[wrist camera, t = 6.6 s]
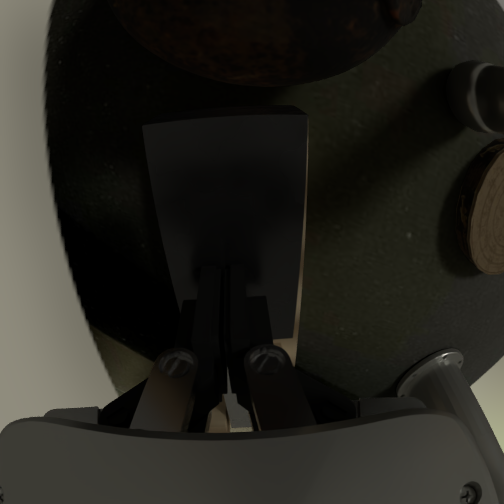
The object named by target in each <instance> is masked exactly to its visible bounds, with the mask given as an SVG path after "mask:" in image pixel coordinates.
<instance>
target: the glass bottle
mask: <svg viewBox="0 0 504 504" xmlns="http://www.w3.org/2000/svg"><path fill="white" fill-rule="evenodd" d="M107 1H108V3H109V5H110V8H111V10H112V11H113V13H114V14H115V16H116V18H117V19H118V21H119V23H120V24H121V25H122V26H123V28H124V29H125V30H126V31H127V32H128V33H129V34H130V36H132V37H133V38H134V39H135V40H136V41H137V42H138V43H139V44H141V45H142V46H143V47H145V48H146V49H147V50H149V51H150V52H152V53H153V54H155V55H156V56H158V57H159V58H161V59H163V60H165V61H166V62H168V63H170V64H172V65H174V66H176V67H178V68H181V69H183V70H186V71H188V72H190V73H193V74H196V75H199V76H202V77H205V78H209V79H213V80H216V81H221V82H225V83H230V84H238V85H245V86H260V87H276V86H290V85H298V84H304V83H310V82H313V81H319V80H322V79H326V78H329V77H332V76H335V75H338V74H341V73H343V72H345V71H347V70H349V69H351V68H353V67H356V66H357V65H359V64H361V63H362V62H364V61H366V60H367V59H368V58H370V57H371V56H373V55H374V54H375V53H376V52H377V51H379V50H380V49H381V48H382V47H383V46H385V45H386V43H387V42H388V41H389V40H390V39H391V38H392V37H393V36H394V35H395V34H396V33H397V32H398V30H399V29H400V28H401V26H405V25H407V24H409V23H412V22H413V21H414V20H415V18H416V16H417V14H418V13H419V10H420V8H421V6H422V0H107Z"/></svg>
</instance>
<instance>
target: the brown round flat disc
mask: <svg viewBox="0 0 504 504" xmlns="http://www.w3.org/2000/svg"><path fill="white" fill-rule="evenodd" d="M455 230H456V234H457V239H458V243H459V247H460V248H461V250H462V251H463V253H464V255H465V256H466V258H467V259H468V260H470V261H471V262H472V263H473V264H474V265H475V266H476V267H477V268H478V269H479V270H481V271H482V272H484V273H486V274H488V275H491V274H500V273H502V272H504V138H500V139H495V140H494V141H492V142H491V143H490V144H488V145H487V146H485V147H484V148H483V149H482V150H481V151H480V153H479V154H478V155H477V157H476V158H475V160H474V161H473V162H472V164H471V165H470V168H469V170H468V172H467V175H466V177H465V179H464V181H463V184H462V186H461V190H460V195H459V199H458V203H457V207H456V229H455Z"/></svg>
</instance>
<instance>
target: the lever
mask: <svg viewBox="0 0 504 504" xmlns="http://www.w3.org/2000/svg"><path fill="white" fill-rule="evenodd" d="M142 130H143V137H144V144H145V151H146V157H147V164H148V170H149V176H150V181H151V187H152V192H153V198H154V203H155V208H156V213H157V218H158V223H159V228H160V232H161V237H162V242H163V246H164V251H165V255H166V259H167V263H168V268H169V272H170V276H171V280H172V284H173V288H174V292H175V295H176V299H177V303H178V307H179V310H180V313H181V308H182V303H183V301H184V300H192V299H197V293H198V286H199V280H200V273H201V267H202V266H216V269H221V271H222V280H223V289H224V291H225V269H229V268H230V265H235V264H244V269H245V283H246V297H251V296H266V299H267V305H268V311H269V318H270V324H271V331H272V337H273V340H276V339H289V338H293V333H294V324H295V315H296V305H297V295H298V284H299V273H300V262H301V249H302V236H303V221H304V205H305V187H306V166H307V140H308V115H307V114H306V113H304V112H303V111H301V110H300V109H298V108H297V107H295V106H292V105H268V106H237V107H220V108H207V109H196V110H187V111H178V112H170V113H163V114H159V115H158V116H156V117H154V118H153V119H151V120H150V121H148V122H147V123H145V124H144V125H142ZM227 378H228V393H227V394H223V395H224V399H225V403H226V407H227V411H228V415H229V419H230V423H231V427H232V428H238V427H251V423H250V419H249V415H248V411H247V410H246V409H245V408H243V407H242V406H241V405H239V404H238V403H237V397H236V394H232V392H231V386H230V380H229V373H228V367H227Z"/></svg>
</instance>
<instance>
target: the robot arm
mask: <svg viewBox="0 0 504 504" xmlns="http://www.w3.org/2000/svg"><path fill="white" fill-rule="evenodd" d="M462 363H463V356H462V354H461V352H460V351H459V350H457V349H454V348H452V349H445V350H441V351H439V352H436V353H434V354H432V355H430V356H428V357H427V358H425V359H423V360H422V361H420V362H419V363H418V364H416V365H415V366H414V367H413V368H411V369H410V370H409V371H408V372H407V373H406V374H405V375H404V377H403V378H402V379H401V380H400V382H399V384H398V386H397V388H396V393H397V396H398V397H394V398H360V399H359V401H351V400H350V399H349V398H347V397H346V396H344V395H342V394H340V393H338V392H336V391H335V390H333V389H331V388H329V387H327V386H325V385H323V384H322V383H320V382H318V381H316V380H314V379H312V378H311V377H309V376H307V375H305V374H304V373H302V372H300V371H298V370H296V369H295V368H294V366H293V364H292V361H291V359H290V356H289V355H288V353H287V352H286V351H285V350H284V349H283V348H281V347H279V346H276V345H274V344H273V337H272V331H271V324H270V318H269V311H268V305H267V299H266V296H251V297H246V283H245V269H244V264H235V265H230V268H229V269H225V291H224V289H223V280H222V271H221V269H216V266H202V267H201V273H200V280H199V286H198V293H197V299H192V300H184V301H183V303H182V308H181V313H180V319H179V324H178V330H177V335H176V341H175V347H174V348H172V349H168V350H166V351H164V352H163V353H161V354H160V355H159V356H158V357H157V359H156V361H155V363H154V365H153V368H152V370H151V373H150V375H149V377H148V378H147V379H145V380H144V381H142V382H141V383H139V384H138V385H136V386H135V387H133V388H132V389H130V390H129V391H127V392H126V393H124V394H123V395H121V396H120V397H118V398H117V399H115V400H114V401H112V402H111V403H109V404H108V405H106V406H105V407H104V408H103V409H99V408H98V407H85V408H68V409H67V408H66V409H53V410H50V411H48V412H47V413H46V414H45V415H44V417H30V418H23V419H19V420H16V421H14V422H11V423H9V424H8V425H7V426H6V427H5V428H4V429H3V430H2V432H1V433H0V504H504V453H503V451H502V449H501V448H500V445H499V443H498V441H497V439H496V437H495V435H494V433H493V431H492V429H491V427H490V424H489V423H488V420H487V418H486V417H485V414H484V413H483V411H482V409H481V407H480V405H479V403H478V401H477V399H476V397H475V396H474V394H473V392H472V390H471V388H470V386H469V385H468V383H467V381H466V379H465V378H464V376H463V374H462V372H461V371H460V368H461V366H462ZM227 367H228V373H229V380H230V386H231V392H232V394H236V397H237V403H238V404H239V405H241V406H242V407H243V408H245V409H246V410H247V411H248V415H249V419H250V423H251V427H252V431H253V432H232V433H208V432H209V427H210V422H211V418H212V409H214V408H215V407H216V406H217V405H218V404H219V402H222V394H227V393H228V378H227Z"/></svg>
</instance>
